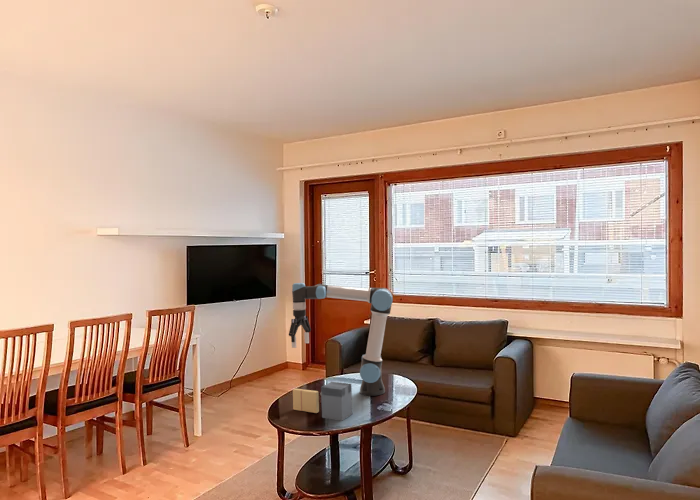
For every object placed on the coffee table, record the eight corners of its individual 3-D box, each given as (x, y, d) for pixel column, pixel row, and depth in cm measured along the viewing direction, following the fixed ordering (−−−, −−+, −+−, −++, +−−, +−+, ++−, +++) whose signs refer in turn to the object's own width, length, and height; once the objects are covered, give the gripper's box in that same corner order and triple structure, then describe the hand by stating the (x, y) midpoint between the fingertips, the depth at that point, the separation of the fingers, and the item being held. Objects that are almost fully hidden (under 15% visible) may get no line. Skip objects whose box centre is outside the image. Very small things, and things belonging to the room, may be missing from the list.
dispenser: (321, 417, 261) (320, 386, 261) (331, 410, 271) (330, 381, 270) (342, 420, 255) (341, 389, 255) (352, 414, 265) (351, 383, 265)
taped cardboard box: (293, 409, 274) (292, 389, 274) (295, 408, 276) (295, 388, 276) (316, 413, 267) (315, 392, 267) (319, 411, 269) (318, 391, 269)
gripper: (305, 306, 306) (306, 341, 306) (281, 311, 284) (282, 349, 284) (316, 306, 303) (317, 341, 303) (292, 312, 281) (293, 349, 281)
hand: (300, 345), depth 294 cm, fingers open, 13 cm apart
